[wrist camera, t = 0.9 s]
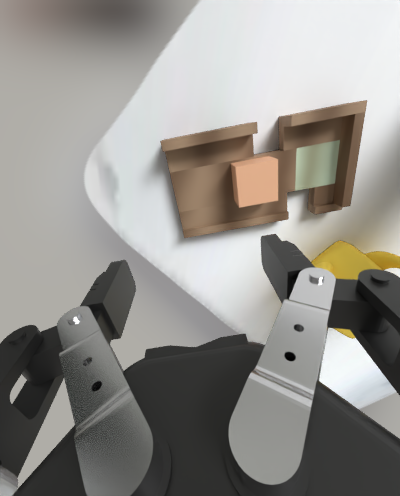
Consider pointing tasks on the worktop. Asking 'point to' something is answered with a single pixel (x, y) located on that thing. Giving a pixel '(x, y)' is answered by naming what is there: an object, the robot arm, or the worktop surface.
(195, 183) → the box
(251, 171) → the block
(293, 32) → the worktop surface
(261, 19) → the worktop surface
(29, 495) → the robot arm
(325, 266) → the teapot
